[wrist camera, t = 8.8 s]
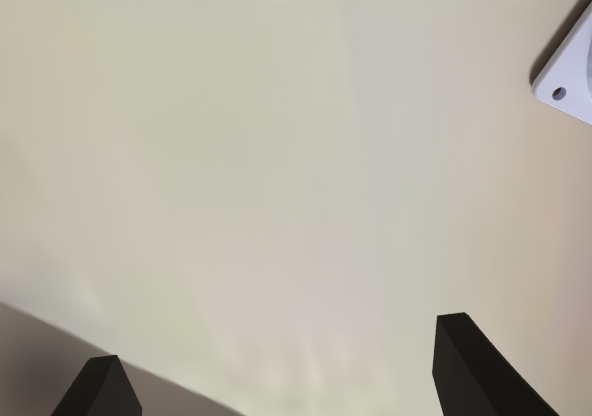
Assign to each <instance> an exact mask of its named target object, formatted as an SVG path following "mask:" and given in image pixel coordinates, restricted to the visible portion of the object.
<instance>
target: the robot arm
mask: <svg viewBox="0 0 592 416" xmlns="http://www.w3.org/2000/svg"><path fill="white" fill-rule="evenodd" d="M560 87H561V90H560V92H559V93H558V94H557V95H556V96H553V97H552V94H553V92H554V91H555V90H556V89H557V88H560ZM531 91H532V94H533V95H534V96H535V97H536V98H538V99H539V100H540V101H542V102H545V103H547V104H549V105H551V106H553V107H555V108H557V109H559V110H562V111H564V112H566V113H568V114H570V115H572V116H574V117H576V118H579V119H581V120H583V121H585V122H587V123H589V124H591V125H592V2H591V3H590V4H589V6H588V7H587V8H586V10H585V11H584V13H583V14H582V15H581V17H580V18H579V20H578V21H577V22H576V24H575V25H574V26H573V28H572V29H571V31H570V32H569V33H568V35H567V36H566V38H565V39H564V40H563V42H562V43H561V44H560V46H559V47H558V49H557V50H556V51H555V53H554V54H553V55H552V57H551V58H550V60H549V61H548V62H547V64H546V65H545V67H544V68H543V69H542V71H541V72H540V73H539V75H538V76H537V78H536V79H535V80H534V82H533V84H532V89H531ZM432 375H433V378H434V382H435V386H436V390H437V393H438V397H439V401H440V404H441V408H442V411H443V415H444V416H560V415H558V414H557V413H556V412H555V411H554V410H553V409H552V408H551V407H550V406H549V405H548V404H547V403H546V402H545V401H544V400H543V399H542V397H541V396H540V395H539V394H538V393H537V392H536V391H535V390H534V389H533V388H532V387H531V386H530V385H529V384H528V383H527V382H526V381H525V380H524V379H523V378H522V377H521V375H520V374H519V373H518V372H517V371H516V370H515V369H514V368H513V367H512V366H511V365H510V363H509V362H508V361H507V360H506V359H505V358H504V357H503V356H502V354H501V353H500V352H499V351H498V350H497V349H496V348H495V346H494V345H493V344H492V343H491V342H490V341H489V340H488V338H487V337H486V336H485V335H484V334H483V332H482V331H481V330H480V329H479V328H478V326H477V325H476V324H475V323H474V321H473V320H472V319H471V318H470V317H469V315H467V314H466V313H465V312H463V313H455V314H447V315H438V316H437V324H436V335H435V347H434V358H433V369H432ZM51 416H142V407H141V405H140V403H139V401H138V399H137V397H136V394H135V392H134V390H133V388H132V386H131V384H130V382H129V380H128V378H127V375H126V373H125V371H124V369H123V367H122V364H121V363H120V360H119V358H118V356H117V355H111V356H104V357H95V358H90V359H89V360H88V361H87V362H86V364H85V366H84V367H83V368H82V370H81V371H80V373H79V374H78V376H77V377H76V379H75V380H74V382H73V383H72V385H71V386H70V388H69V389H68V391H67V392H66V394H65V395H64V397H63V398H62V399H61V401H60V402H59V404H58V405H57V407H56V408H55V410H54V411H53V413H52V414H51Z"/></svg>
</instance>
